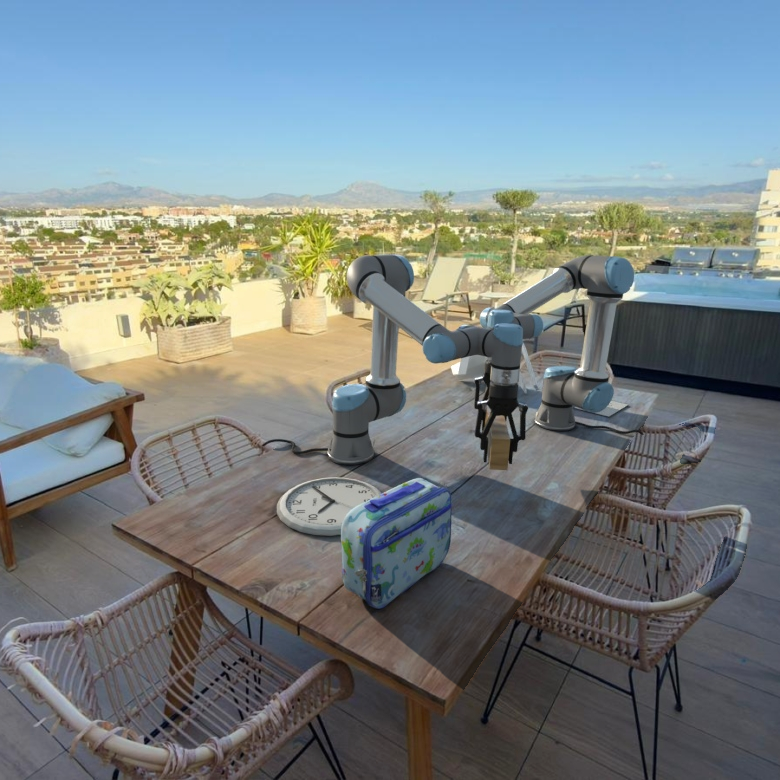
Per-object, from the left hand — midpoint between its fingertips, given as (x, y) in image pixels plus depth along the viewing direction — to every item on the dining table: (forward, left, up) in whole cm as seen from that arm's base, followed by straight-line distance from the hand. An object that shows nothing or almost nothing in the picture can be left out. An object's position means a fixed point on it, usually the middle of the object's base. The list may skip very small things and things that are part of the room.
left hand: (497, 460), depth 146 cm
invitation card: (+12, +100, -11) cm, 101 cm away
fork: (-12, -12, -11) cm, 21 cm away
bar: (-5, +11, -1) cm, 12 cm away
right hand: (-10, +22, 0) cm, 24 cm away
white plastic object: (-39, +101, -11) cm, 108 cm away
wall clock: (-36, -29, -11) cm, 47 cm away
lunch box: (-5, -47, -11) cm, 49 cm away
